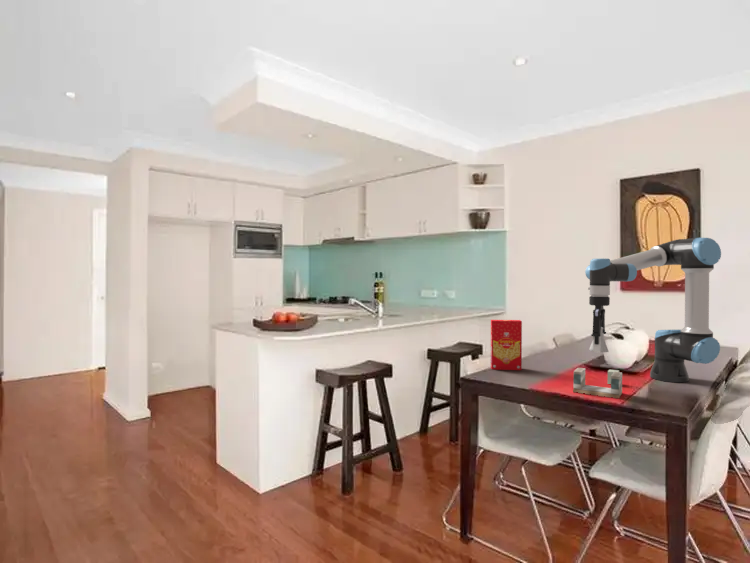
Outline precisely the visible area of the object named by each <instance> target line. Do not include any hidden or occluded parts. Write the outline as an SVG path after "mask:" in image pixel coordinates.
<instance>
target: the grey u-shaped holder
mask: <svg viewBox="0 0 750 563" xmlns="http://www.w3.org/2000/svg"><path fill="white" fill-rule="evenodd" d="M572 378H573V379H572V380H573V386H572V387H573V389H572V392H573V393H576V392H578V393H577V394H583V393H585V395H590V394H591V396H597V395H598V396H597V397H604V396H605V398H611V397H613V399H618V398H619V399H620V398H621V395H622V394H623V372H620V371H619V372H613V374H612V375H611V385H610V387H603V386H599V385H598V386H596V385H591V384H586V368H583V367H577V368H576V369H574V370H573V377H572Z"/></svg>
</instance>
